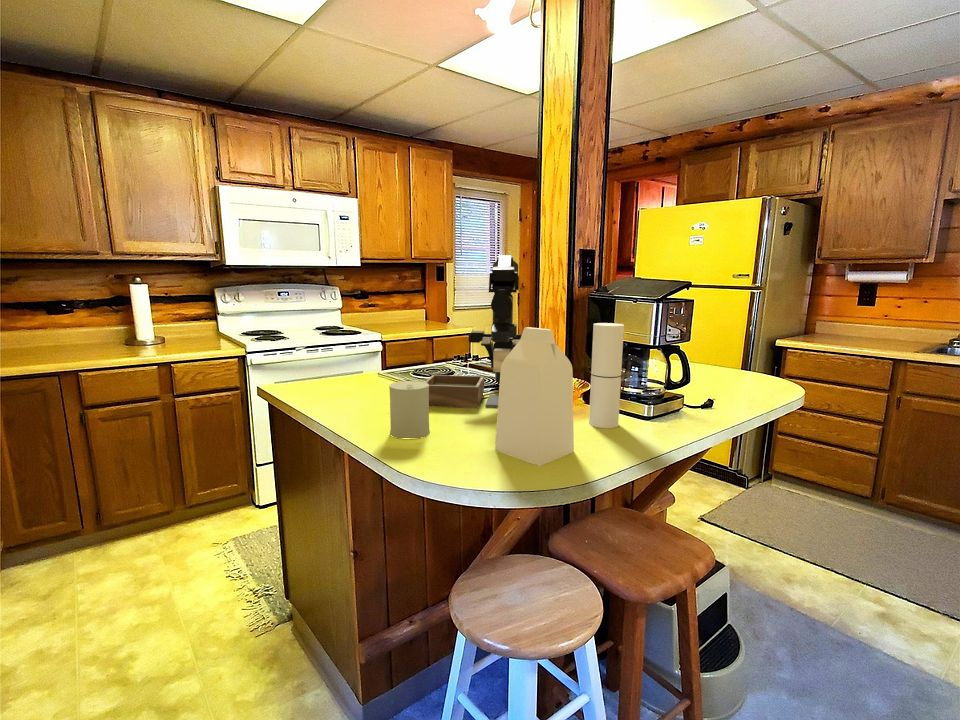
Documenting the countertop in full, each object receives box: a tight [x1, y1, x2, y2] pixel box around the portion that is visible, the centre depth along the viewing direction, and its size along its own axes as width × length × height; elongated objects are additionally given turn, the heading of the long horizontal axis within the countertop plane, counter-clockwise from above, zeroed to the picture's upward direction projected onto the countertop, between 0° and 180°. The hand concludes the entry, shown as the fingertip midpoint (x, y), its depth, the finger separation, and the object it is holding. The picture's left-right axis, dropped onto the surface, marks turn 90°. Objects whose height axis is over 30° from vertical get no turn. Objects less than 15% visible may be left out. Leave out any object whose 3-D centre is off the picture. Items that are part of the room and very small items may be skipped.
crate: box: [424, 374, 485, 409], centre depth 146 cm, size 15×16×6 cm
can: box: [388, 380, 431, 439], centre depth 115 cm, size 9×9×12 cm
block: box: [492, 349, 511, 373], centre depth 143 cm, size 5×5×6 cm
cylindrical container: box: [588, 322, 625, 429], centre depth 122 cm, size 7×7×25 cm
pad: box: [485, 393, 499, 409], centre depth 145 cm, size 12×8×1 cm, turn 173°
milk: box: [494, 326, 575, 467], centre depth 103 cm, size 12×12×26 cm
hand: (501, 367), depth 143 cm, fingers closed on block, 5 cm apart
